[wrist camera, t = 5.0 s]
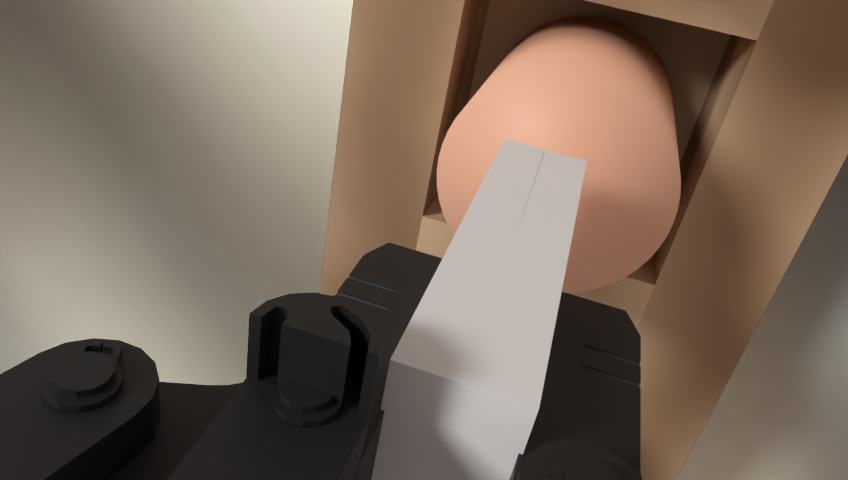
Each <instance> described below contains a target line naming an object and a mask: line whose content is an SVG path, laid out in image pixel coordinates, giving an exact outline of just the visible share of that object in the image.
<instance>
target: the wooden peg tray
mask: <svg viewBox="0 0 848 480" xmlns="http://www.w3.org/2000/svg"><path fill="white" fill-rule="evenodd" d="M576 16H593V17H599V18H605V19H609V20H612V21H615V22H618V23H620V24H622V25H624V26H627V27H629V28H630V29H632V30H633V31H635V32H636V33H638V34H639V35H640V36H642V37H643V38H644V39H645V40H646V41H647V42H648V43H649V44H650V45H651V46H652V47H653V48H654V50H655V51H656V52H657V54H658V55H659V57H660V58H661V60H662V62H663V64H664V66H665V68H666V70H667V73H668V76H669V79H670V83H671V89H672V96H673V106H674V116H675V126H676V136H677V145H678V155H679V165H680V175H681V195H680V201H679V207H678V211H677V214H676V217H675V220H674V223H673V225H672V227H671V229H670V231H669V233H668V235H667V237H666V239H665V240H664V242H663V243H662V245H661V246H660V247H659V249H658V250H657V251H656V252H655V253H654V254H653V256H652V257H651V258H650V259H649V260H648V261H647V262H646V263H644V264H643V265H642V266H641V267H640V268H638V269H637V270H636V271H634V272H633V273H631V274H629V275H628V276H626V277H625V278H623V279H621V280H619V281H617V282H614V283H612V284H610V285H607V286H604V287H601V288H598V289H594V290H589V291H584V292H577V293H569V294H572V295H575V296H579V297H582V298H585V299H589V300H592V301H595V302H599V303H602V304H605V305H609V306H612V307H615V308H619V309H622V310H626V311H627V313H628V315H629V317H630V318H631V320H632V322H633V324H634V325H635V327H636V329H637V331H638V332H639V334H640V336H641V362H640V367H641V383H640V387H639V388H641V441H640V471H641V478H642V479H643V480H676V478H677V476H678V474H679V472H680V470H681V468H682V466H683V465H684V463H685V461H686V459H687V457H688V455H689V453H690V451H691V449H692V448H693V446H694V444H695V442H696V440H697V438H698V436H699V434H700V432H701V431H702V429H703V427H704V425H705V423H706V421H707V419H708V417H709V415H710V414H711V412H712V410H713V408H714V406H715V404H716V402H717V400H718V399H719V397H720V395H721V393H722V391H723V389H724V387H725V385H726V383H727V382H728V380H729V378H730V376H731V374H732V372H733V370H734V368H735V366H736V365H737V363H738V361H739V359H740V357H741V355H742V353H743V351H744V349H745V348H746V346H747V344H748V342H749V340H750V338H751V336H752V334H753V332H754V331H755V329H756V327H757V325H758V323H759V321H760V319H761V317H762V315H763V314H764V312H765V310H766V308H767V306H768V304H769V302H770V300H771V298H772V297H773V295H774V293H775V291H776V289H777V287H778V285H779V283H780V281H781V280H782V278H783V276H784V274H785V272H786V270H787V268H788V266H789V265H790V263H791V261H792V259H793V257H794V255H795V253H796V251H797V249H798V248H799V246H800V244H801V242H802V240H803V238H804V236H805V234H806V232H807V231H808V229H809V227H810V225H811V223H812V221H813V219H814V217H815V215H816V214H817V212H818V210H819V208H820V206H821V204H822V202H823V200H824V198H825V197H826V195H827V193H828V191H829V189H830V187H831V185H832V183H833V181H834V180H835V178H836V176H837V174H838V172H839V170H840V168H841V166H842V164H843V163H844V161H845V159H846V157H847V155H848V0H353V8H352V17H351V26H350V34H349V43H348V52H347V60H346V69H345V78H344V86H343V95H342V104H341V112H340V121H339V130H338V138H337V147H336V156H335V164H334V173H333V182H332V190H331V199H330V208H329V216H328V225H327V234H326V242H325V251H324V260H323V268H322V277H321V286H320V294H325V295H330V296H334V295H336V294H337V291H338V289H339V288H340V287H341V285H342V284H343V282H344V281H345V280H346V278H349V274H350V273H351V272H352V270H353V269H354V267H355V266H356V265H357V263H358V262H359V261H360V259H361V258H362V256H363V255H364V254H366V253H368V252H370V251H372V250H374V249H376V248H378V247H380V246H382V245H385V244H387V243H393V244H396V245H399V246H403V247H406V248H409V249H413V250H416V251H419V252H423V253H426V254H430V255H433V256H436V257H440V258H443V257H444V255H445V253H446V251H447V249H448V247H449V245H450V243H451V241H452V239H453V237H454V235H453V233H452V232H451V230H450V228H449V226H448V224H447V222H446V220H445V217H444V215H443V213H442V209H441V206H440V202H439V198H438V191H437V165H438V157H439V154H440V150H441V146H442V143H443V141H444V139H445V136H446V134H447V132H448V130H449V128H450V126H451V125H452V123H453V121H454V120H455V118H456V117H457V116H458V114H459V113H460V112H461V111H462V110H463V108H464V107H465V106H466V105H467V103H468V102H469V101H470V100H471V99H472V97H473V96H474V95H475V94H476V92H477V91H478V90H479V89H480V88H481V86H482V85H483V84H484V83H485V81H486V80H487V79H488V78H489V77H490V75H491V74H492V73H493V72H494V71H495V69H496V68H497V67H498V66H499V64H500V63H501V62H502V61H503V60H504V58H505V57H506V56H507V55H508V53H509V52H510V51H511V50H512V49H513V47H514V46H515V45H516V44H517V43H518V42H519V41H520V40H521V39H523V38H524V37H525V36H526V35H528V34H529V33H531V32H532V31H533V30H535V29H537V28H539V27H541V26H543V25H544V24H547V23H550V22H552V21H555V20H559V19H563V18H567V17H576Z"/></svg>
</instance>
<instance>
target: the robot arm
mask: <svg viewBox="0 0 848 480" xmlns="http://www.w3.org/2000/svg"><path fill="white" fill-rule="evenodd" d="M586 163H587V161H586V160H583V159H579V158H575V157H571V156H568V155H564V154H560V153H556V152H553V151H549V150H545V149H542V148H538V147H534V146H530V145H527V144H523V143H519V142H515V141H512V140H508V139H504V141H503V143H502V145H501V147H500V149H499V151H498V153H497V154H496V156H495V158H494V160H493V162H492V164H491V166H490V168H489V170H488V172H487V174H486V176H485V178H484V180H483V181H482V183H481V185H480V187H479V189H478V191H477V193H476V195H475V197H474V199H473V201H472V203H471V205H470V206H469V208H468V210H467V212H466V214H465V216H464V218H463V220H462V222H461V224H460V226H459V228H458V230H457V232H456V233H455V235H454V237H453V239H452V241H451V243H450V245H449V247H448V249H447V251H446V253H445V255H444V257H443V258H440V257H436V256H433V255H430V254H426V253H423V252H419V251H416V250H413V249H409V248H406V247H403V246H399V245H396V244H393V243H387V244H385V245H382V246H380V247H378V248H376V249H374V250H372V251H370V252H368V253H366V254H364V255H363V256H362V258H361V259H360V261H359V262H358V263H357V265H356V266H355V267H354V269H353V270H352V272H351V273H350V274H349V278H346V280H345V281H344V282H343V284H342V285H341V287H340V288H339V289H338V291H337V294H336V295H334V296H330V295H325V294H320V293H298V294H288V295H285V296H281V297H278V298H275V299H272V300H269V301H266V302H265V303H263V304H262V305H261V306H259V307H258V308H257V309H255V310H254V311H253V312H251V313H250V317H249V337H248V357H247V377H246V379H245V381H244V382H243V383H239V384H233V385H195V384H181V383H168V382H159V377H158V373H157V369H156V364H155V362H154V361H153V360H152V359H151V358H150V357H149V356H148V355H147V354H146V353H145V352H144V351H143V350H142V349H140V348H138V347H135V346H133V345H130V344H127V343H125V342H122V341H118V340H106V339H87V340H81V341H74V342H68V343H64V344H61V345H59V346H56V347H54V348H51V349H49V350H46V351H44V352H41V353H39V354H37V355H35V356H33V357H31V358H30V359H28V360H26V361H24V362H22V363H20V364H19V365H17V366H15V367H13V368H11V369H9V370H8V371H6V372H4V373H2V374H0V480H643V479H642V478H641V471H640V441H641V388H639V387H640V383H641V367H640V362H641V336H640V334H639V332H638V331H637V329H636V327H635V325H634V324H633V322H632V320H631V318H630V317H629V315H628V313H627V311H626V310H622V309H619V308H615V307H612V306H609V305H605V304H602V303H599V302H595V301H592V300H589V299H585V298H582V297H579V296H575V295H572V294H569V293H565V292H562V287H563V282H564V277H565V272H566V267H567V261H568V256H569V251H570V246H571V241H572V235H573V230H574V225H575V220H576V215H577V209H578V204H579V199H580V194H581V189H582V183H583V178H584V173H585V168H586Z"/></svg>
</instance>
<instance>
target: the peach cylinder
mask: <svg viewBox="0 0 848 480" xmlns="http://www.w3.org/2000/svg"><path fill="white" fill-rule="evenodd" d="M504 139H508V140H512V141H515V142H519V143H523V144H527V145H530V146H534V147H538V148H542V149H545V150H549V151H553V152H556V153H560V154H564V155H568V156H571V157H575V158H579V159H583V160H586V161H587V163H586V168H585V173H584V178H583V183H582V189H581V194H580V199H579V204H578V209H577V215H576V220H575V225H574V230H573V235H572V241H571V246H570V251H569V256H568V261H567V267H566V272H565V277H564V282H563V287H562V292H565V293H577V292H584V291H589V290H594V289H598V288H601V287H604V286H607V285H610V284H612V283H614V282H617V281H619V280H621V279H623V278H625V277H626V276H628V275H629V274H631V273H633V272H634V271H636V270H637V269H638V268H640V267H641V266H642V265H643V264H644V263H646V262H647V261H648V260H649V259H650V258H651V257H652V256H653V254H654V253H655V252H656V251H657V250H658V249H659V247H660V246H661V245H662V243H663V242H664V240H665V239H666V237H667V235H668V233H669V231H670V229H671V227H672V225H673V223H674V220H675V217H676V214H677V211H678V207H679V201H680V195H681V175H680V165H679V155H678V145H677V136H676V126H675V116H674V106H673V96H672V89H671V83H670V79H669V76H668V73H667V70H666V68H665V66H664V64H663V62H662V60H661V58H660V57H659V55H658V54H657V52H656V51H655V50H654V48H653V47H652V46H651V45H650V44H649V43H648V42H647V41H646V40H645V39H644V38H643V37H642V36H640V35H639V34H638V33H636V32H635V31H633V30H632V29H630V28H629V27H627V26H624V25H622V24H620V23H618V22H615V21H612V20H609V19H605V18H599V17H593V16H576V17H567V18H563V19H559V20H555V21H552V22H550V23H547V24H544V25H543V26H541V27H539V28H537V29H535V30H533V31H532V32H531V33H529V34H528V35H526V36H525V37H524V38H523V39H521V40H520V41H519V42H518V43H517V44H516V45H515V46H514V47H513V49H512V50H511V51H510V52H509V53H508V55H507V56H506V57H505V58H504V60H503V61H502V62H501V63H500V64H499V66H498V67H497V68H496V69H495V71H494V72H493V73H492V74H491V75H490V77H489V78H488V79H487V80H486V81H485V83H484V84H483V85H482V86H481V88H480V89H479V90H478V91H477V92H476V94H475V95H474V96H473V97H472V99H471V100H470V101H469V102H468V103H467V105H466V106H465V107H464V108H463V110H462V111H461V112H460V113H459V114H458V116H457V117H456V118H455V120H454V121H453V123H452V125H451V126H450V128H449V130H448V132H447V134H446V136H445V139H444V141H443V143H442V146H441V150H440V154H439V157H438V165H437V191H438V198H439V202H440V206H441V209H442V213H443V215H444V217H445V220H446V222H447V224H448V226H449V228H450V230H451V232H452V233H453V235H455V233H456V232H457V230H458V228H459V226H460V224H461V222H462V220H463V218H464V216H465V214H466V212H467V210H468V208H469V206H470V205H471V203H472V201H473V199H474V197H475V195H476V193H477V191H478V189H479V187H480V185H481V183H482V181H483V180H484V178H485V176H486V174H487V172H488V170H489V168H490V166H491V164H492V162H493V160H494V158H495V156H496V154H497V153H498V151H499V149H500V147H501V145H502V143H503V141H504Z"/></svg>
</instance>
